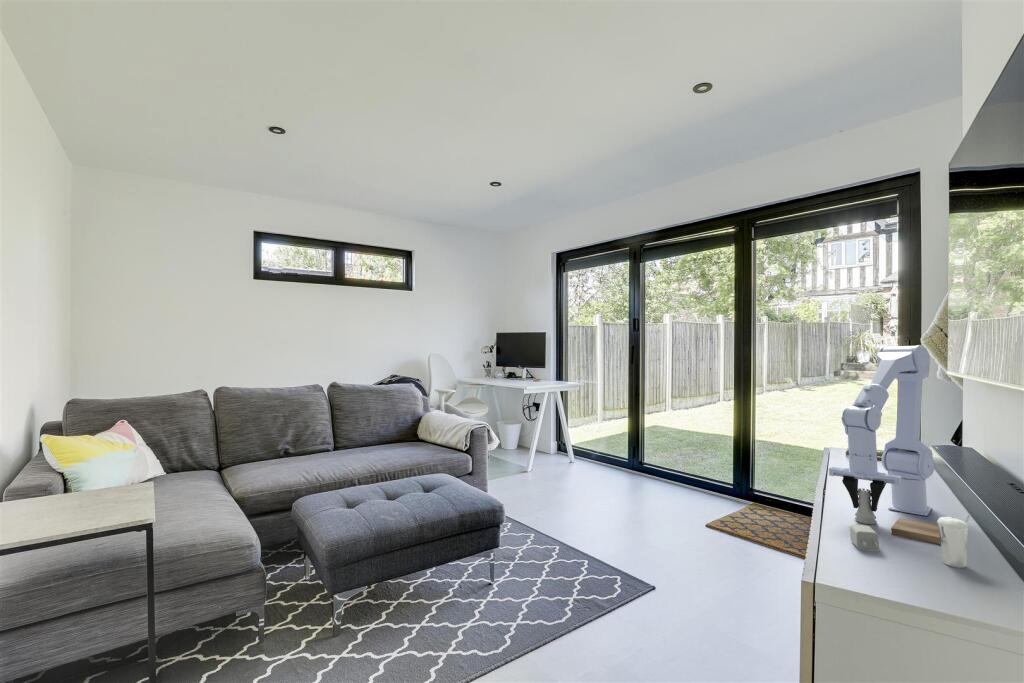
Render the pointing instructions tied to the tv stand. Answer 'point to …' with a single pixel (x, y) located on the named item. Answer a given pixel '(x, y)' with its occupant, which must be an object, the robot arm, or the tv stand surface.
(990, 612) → the tv stand surface
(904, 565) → the tv stand surface
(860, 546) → the usb wall charger
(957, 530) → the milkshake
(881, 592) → the tv stand surface
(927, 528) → the walnut plinth
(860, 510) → the rook chess piece
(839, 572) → the tv stand surface
